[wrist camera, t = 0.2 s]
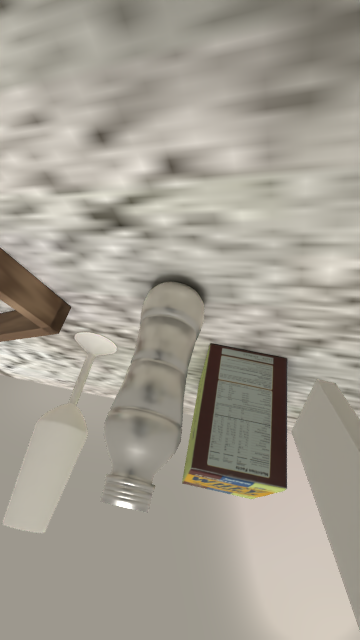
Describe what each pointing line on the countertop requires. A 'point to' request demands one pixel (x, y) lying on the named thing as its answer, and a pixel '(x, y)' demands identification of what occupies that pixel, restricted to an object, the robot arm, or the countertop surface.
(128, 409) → the plastic bottle
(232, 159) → the countertop surface
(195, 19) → the countertop surface
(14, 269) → the walnut bay
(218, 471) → the protein box
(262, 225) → the countertop surface
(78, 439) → the champagne flute
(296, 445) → the robot arm
